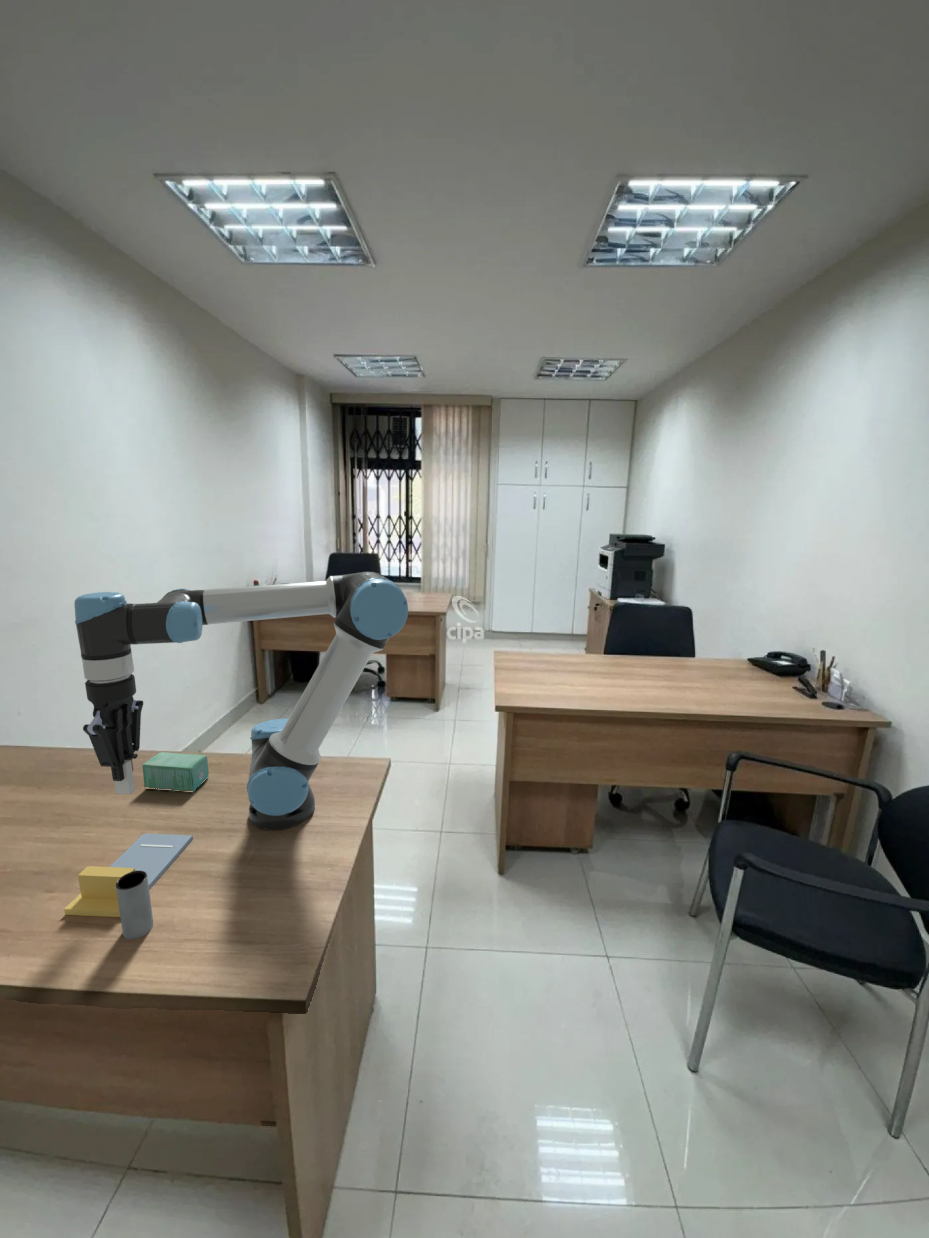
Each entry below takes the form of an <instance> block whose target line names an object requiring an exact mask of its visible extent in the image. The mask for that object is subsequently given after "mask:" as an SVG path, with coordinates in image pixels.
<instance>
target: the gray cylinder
mask: <svg viewBox="0 0 929 1238" xmlns="http://www.w3.org/2000/svg"><path fill="white" fill-rule="evenodd" d="M116 892H117V899H118V905H119V912H120V917H119V918H120V924H121V930H122V931H121V932H122V935H123V938H124V939H126V940H129V941H131V940H137V939H141V938H142V937H144V936H146V935H147V934H148V933H149V932H150V931H151V930H152V929H153V927H154V915H153V909H152V901H151V896H150V895H151V894H150V889H149V885H148V878H147V873H146V872H144V871H133V872H130V873H127V874H125V875H124V876H122V877H121V878H120V879H119V880H118V881H117V882H116Z"/></svg>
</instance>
